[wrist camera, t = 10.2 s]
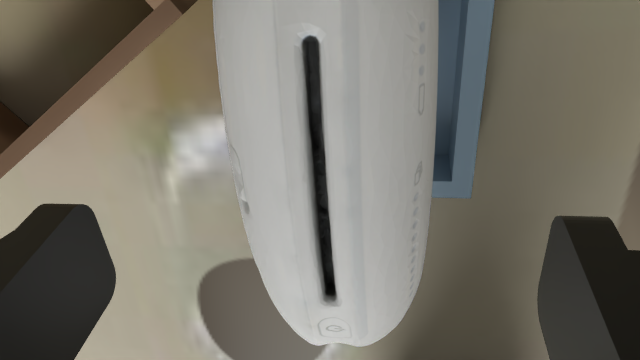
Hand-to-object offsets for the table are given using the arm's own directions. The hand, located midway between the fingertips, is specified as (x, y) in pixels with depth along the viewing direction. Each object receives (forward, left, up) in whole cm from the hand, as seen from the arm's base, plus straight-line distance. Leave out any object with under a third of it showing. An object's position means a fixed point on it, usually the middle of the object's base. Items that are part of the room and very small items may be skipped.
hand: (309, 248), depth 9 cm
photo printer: (0, 0, -13) cm, 13 cm away
